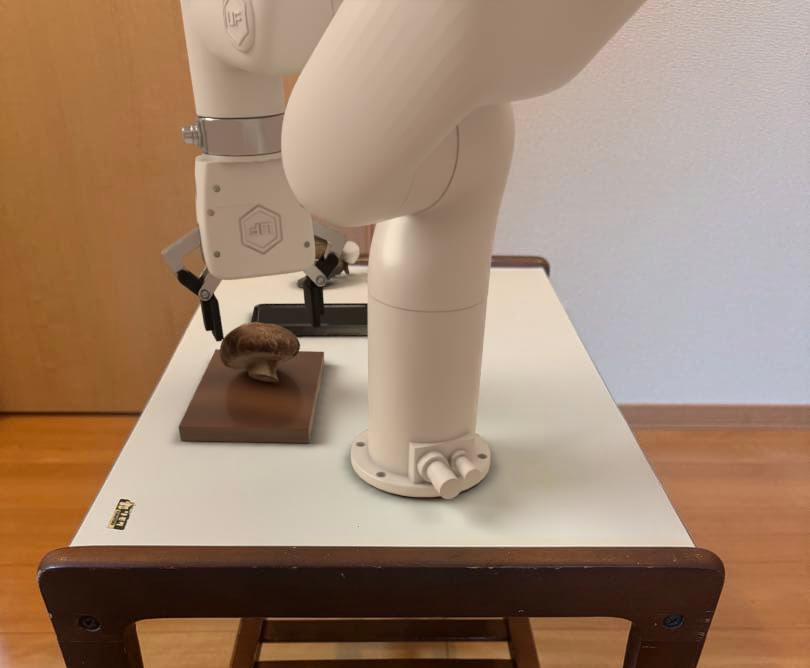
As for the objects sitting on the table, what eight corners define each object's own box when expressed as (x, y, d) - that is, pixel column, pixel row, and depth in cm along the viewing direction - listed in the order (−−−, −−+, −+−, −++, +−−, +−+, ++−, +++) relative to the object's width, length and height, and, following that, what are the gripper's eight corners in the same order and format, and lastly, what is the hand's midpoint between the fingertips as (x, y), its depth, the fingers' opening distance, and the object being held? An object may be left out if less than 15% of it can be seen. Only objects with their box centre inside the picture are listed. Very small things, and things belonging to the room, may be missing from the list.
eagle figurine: (323, 256, 116) (274, 257, 110) (345, 219, 111) (296, 217, 105) (349, 296, 114) (302, 299, 108) (373, 260, 109) (325, 261, 103)
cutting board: (309, 443, 74) (308, 429, 73) (180, 440, 74) (178, 426, 73) (324, 364, 88) (324, 351, 87) (217, 361, 88) (215, 349, 87)
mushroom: (283, 370, 75) (268, 306, 75) (213, 392, 78) (198, 330, 78) (318, 378, 83) (305, 320, 83) (253, 398, 85) (240, 342, 85)
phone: (254, 303, 100) (373, 302, 101) (255, 312, 100) (373, 311, 101) (249, 326, 93) (376, 326, 94) (250, 336, 94) (376, 334, 95)
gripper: (146, 151, 63) (183, 356, 73) (352, 136, 68) (361, 330, 78) (137, 138, 69) (172, 330, 78) (327, 126, 74) (338, 307, 83)
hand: (266, 329), depth 78 cm, fingers open, 9 cm apart
